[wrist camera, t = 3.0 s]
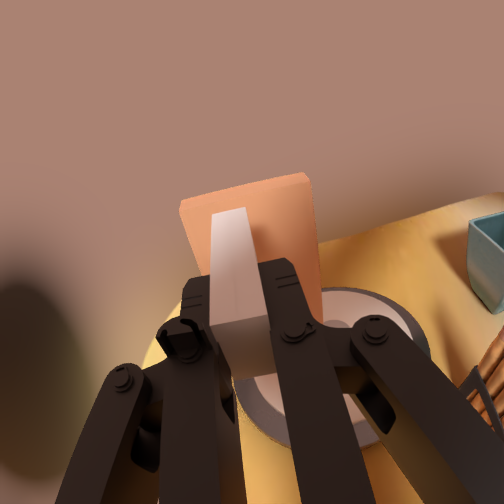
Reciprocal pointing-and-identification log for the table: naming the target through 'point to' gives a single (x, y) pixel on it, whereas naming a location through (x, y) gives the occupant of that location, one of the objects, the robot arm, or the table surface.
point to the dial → (282, 255)
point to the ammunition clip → (488, 386)
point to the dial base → (276, 422)
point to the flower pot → (487, 259)
